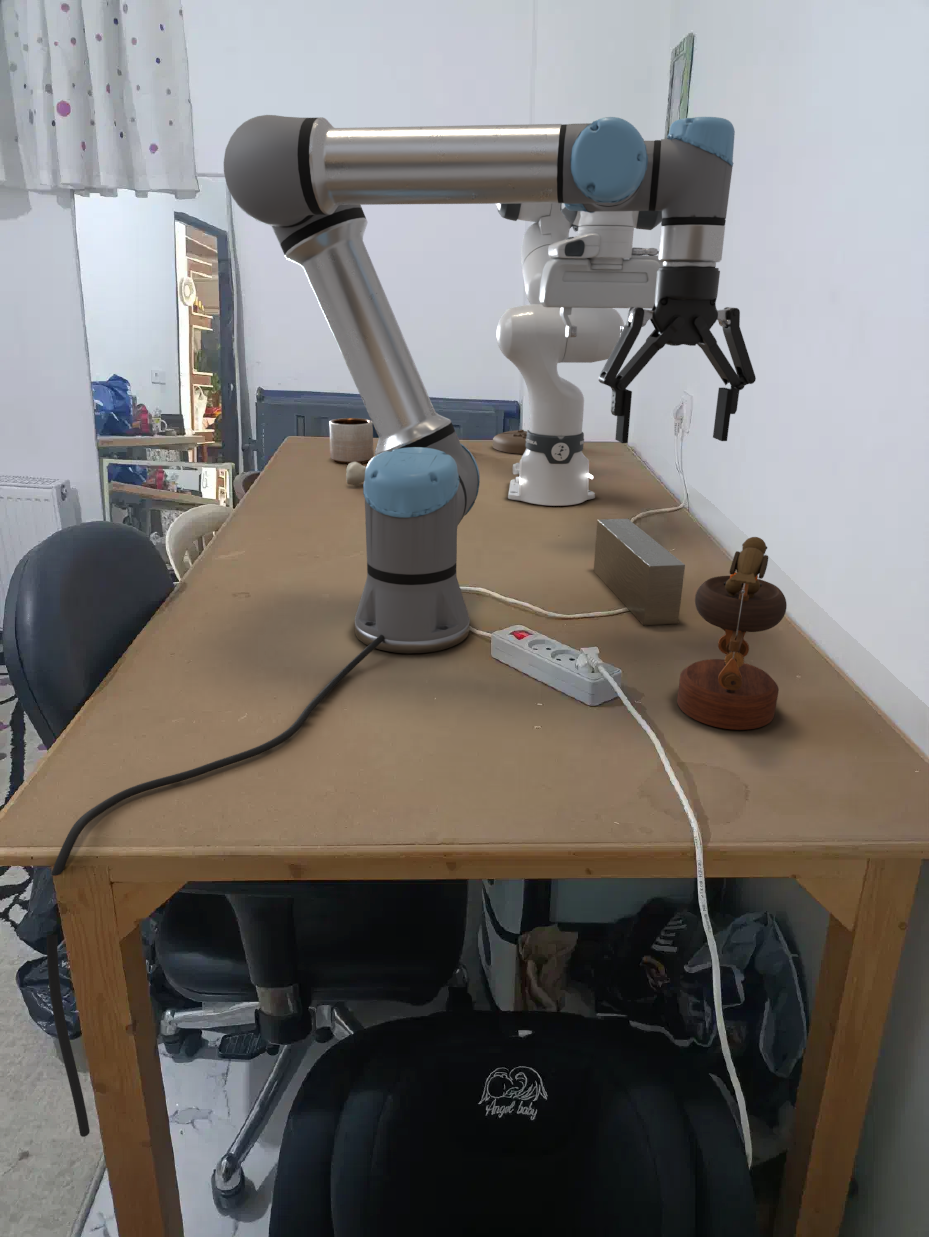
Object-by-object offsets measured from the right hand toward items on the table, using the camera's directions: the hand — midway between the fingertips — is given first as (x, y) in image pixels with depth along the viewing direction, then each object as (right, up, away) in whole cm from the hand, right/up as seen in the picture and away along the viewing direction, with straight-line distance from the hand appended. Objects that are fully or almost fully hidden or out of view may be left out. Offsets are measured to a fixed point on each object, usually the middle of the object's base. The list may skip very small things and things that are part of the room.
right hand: (598, 337), depth 141 cm
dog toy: (-39, -17, +49) cm, 65 cm away
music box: (+7, -57, -46) cm, 73 cm away
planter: (-51, -7, +73) cm, 89 cm away
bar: (+3, -44, -14) cm, 46 cm away
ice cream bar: (-4, -3, +85) cm, 85 cm away
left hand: (+5, -24, -30) cm, 39 cm away
